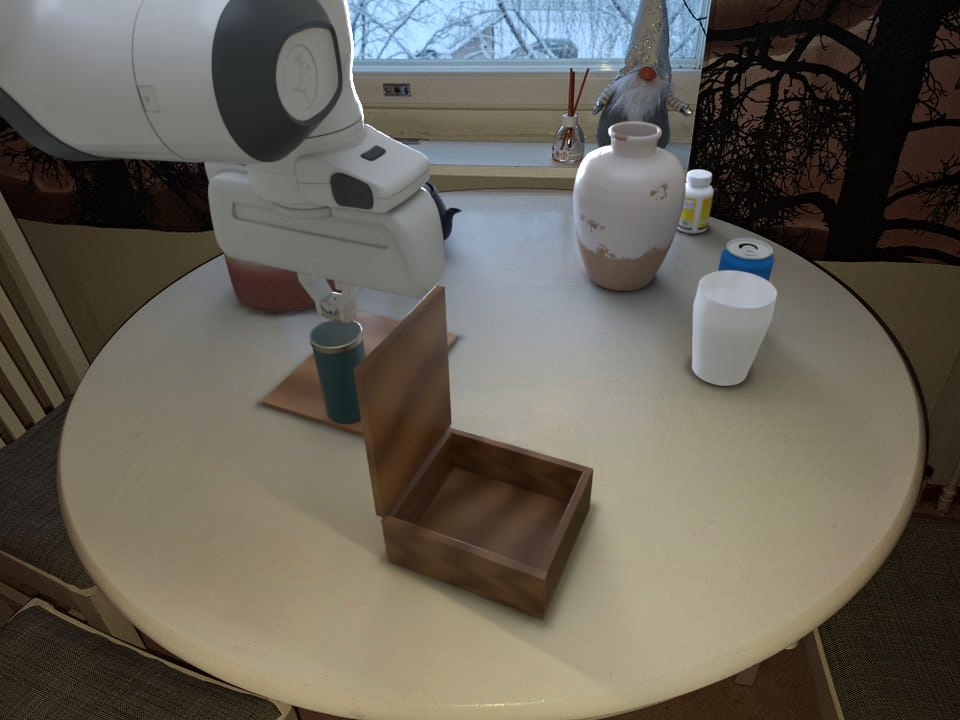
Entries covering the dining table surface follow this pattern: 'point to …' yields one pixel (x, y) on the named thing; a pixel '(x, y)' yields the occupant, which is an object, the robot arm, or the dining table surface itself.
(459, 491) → the chest
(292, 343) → the dining table surface
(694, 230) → the supplement bottle
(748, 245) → the beverage can
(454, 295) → the dining table surface
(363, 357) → the tea tin
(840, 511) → the dining table surface
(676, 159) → the vase
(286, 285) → the planter
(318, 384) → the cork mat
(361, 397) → the chest lid
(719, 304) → the cup
